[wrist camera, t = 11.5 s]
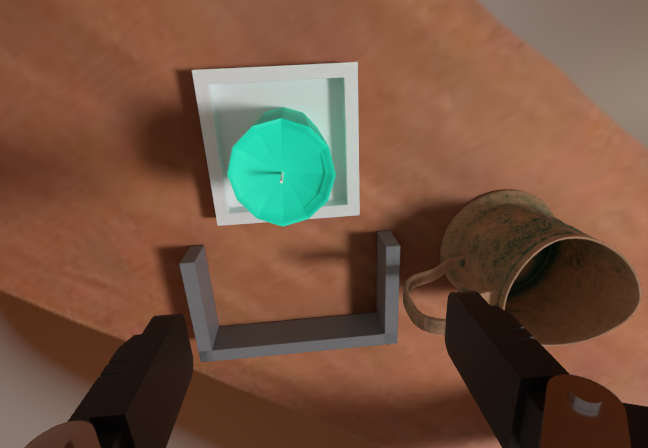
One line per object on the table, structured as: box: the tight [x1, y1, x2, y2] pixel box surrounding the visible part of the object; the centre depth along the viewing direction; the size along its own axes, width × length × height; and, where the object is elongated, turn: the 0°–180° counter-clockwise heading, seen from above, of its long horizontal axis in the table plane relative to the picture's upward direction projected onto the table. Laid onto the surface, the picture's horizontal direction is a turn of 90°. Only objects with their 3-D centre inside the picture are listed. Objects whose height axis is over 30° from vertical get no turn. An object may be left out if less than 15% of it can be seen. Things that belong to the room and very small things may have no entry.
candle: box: [227, 107, 336, 226], centre depth 24 cm, size 6×6×12 cm
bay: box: [180, 230, 400, 362], centre depth 34 cm, size 18×10×4 cm, turn 93°
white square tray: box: [192, 62, 360, 226], centre depth 29 cm, size 12×12×2 cm
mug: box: [403, 189, 642, 346], centre depth 30 cm, size 12×18×12 cm, turn 91°
